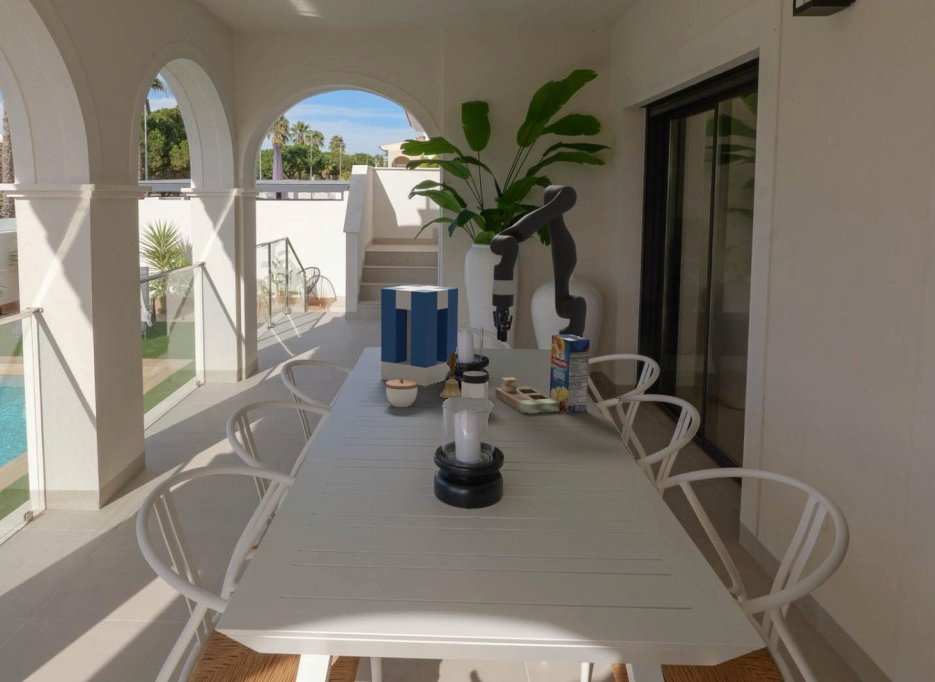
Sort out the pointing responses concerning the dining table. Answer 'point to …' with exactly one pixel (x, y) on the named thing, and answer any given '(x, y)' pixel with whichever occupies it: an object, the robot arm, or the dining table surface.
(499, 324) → the robot arm
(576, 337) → the juice carton
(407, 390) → the lidded jar
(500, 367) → the dining table surface
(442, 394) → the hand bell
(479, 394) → the jar
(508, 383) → the beech block
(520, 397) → the wooden compartment tray
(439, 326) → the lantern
